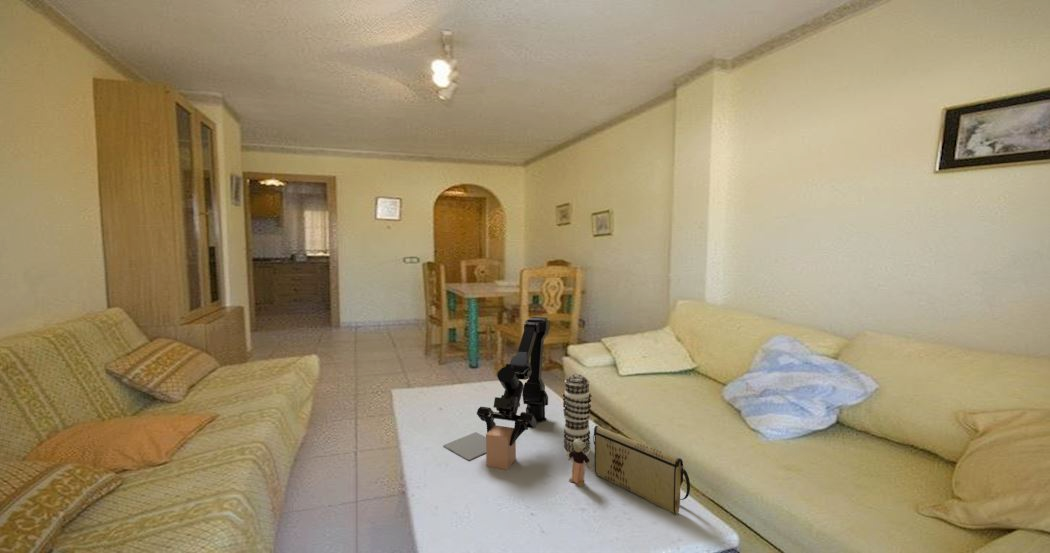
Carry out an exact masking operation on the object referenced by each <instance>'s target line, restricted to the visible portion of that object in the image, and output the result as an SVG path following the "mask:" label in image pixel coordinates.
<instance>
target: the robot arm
mask: <svg viewBox="0 0 1050 553" xmlns="http://www.w3.org/2000/svg"><path fill="white" fill-rule="evenodd" d="M550 327H551V321H550V320H549V319H548V317H544V316H531V317H530V319H527V320H525V322H524V325H523V332H522V336H521V339H520V343H519V345H518V350H517V352H516V354H515V355H514V356H513V357H512V358H511V359H510V361H509V363H505V364H506V365H505V366H503V367H502V368H500V369H499V370H498V371H497V379H498V382H500V385H501V386H502V387H503V389H504V391H503V394H501V397H498V396H497V397H496V396H495V397H494V401H493V408H495V409H496V412H495V411H493V409H492V408H491V407H488V406H487V407H486V406H479V407H478V409H477V411H476V415H477V417H479V419H480V420H481V421H482V422H485V423H486V434H487V433H488V432H489V431H490V430H491V429H492V428H493V427H494V426H495V425H496V422H495V419H497V420H503V421H509V422H510V421H511V422H514V427H513V428H514V430H513V433H512V436H511V439H510V446H512V445H513V443H514V442H515V441H516V442H517V440H518V438H519V437H520V436H521V435H522V434H523V432H525V431H528V430H529V429H536V425H537V423H538V422H539V423H540V422H545V421H547V420H548V419H547V417H546V406H548V405H549V396H548V394H547V391H546V385H545V383H544V381H543V379H542V374H543V372H542V371H543V357H544V355H543V353H544V342H545V339H546V338H547V336H548V335H549V331H550V329H551V328H550ZM522 380H523V381H525V382H524V383H523V382H522ZM526 380H527V381H526ZM521 399H522V401H523V405H526V407H525V412H524V411H521V412H520V414H518V415H517V413H518V409H519V408H520V407H521V403H520V402H521Z"/></svg>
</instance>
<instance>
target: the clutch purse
mask: <svg viewBox="0 0 1050 553" xmlns="http://www.w3.org/2000/svg"><path fill="white" fill-rule="evenodd" d="M592 440H593V444H594V473H595V475H596V476H599V477H600V478H603V479H604V480H607V481H609V482H611V483H613V484H614V485H616V486H619V487H621V488H623V489H625V490H626V491H628V492H631V493H633V494H634V495H637V496H639V497H640V498H642V499H645V500H647V501H648V502H650V503H653V504H655V505H657V506H659V507H660V508H663V509H665V510H666V511H668V512H671V513H673V514H674V515H675V516H677V515H678V514H679V513H680V505H681V501H683V500H686V499H687V498H688V497H689V495H690V491H691V482H690V478H689V477H690V476H689V474H688V472H687V470H686V468H685V467H684V463H683V462H684V461H683V459H682V458H679V457H678V456H677V457H676V456H674V455H672V454H669V453H666V452H664V451H662V450H659V449H656V448H654V447H651V446H649V445H647V444H644V443H641V442H638V441H637V440H634V439H631V438H628V437H626V436H624V435H621V434H618V433H616V432H613V431H611V430H608V429H606V428H604V427H600V426H598V425H595V426H594V428H593V438H592ZM684 479H685V483H686V493H685V496H684V497H683V498H681V487H682V485H683V482H684Z"/></svg>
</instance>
